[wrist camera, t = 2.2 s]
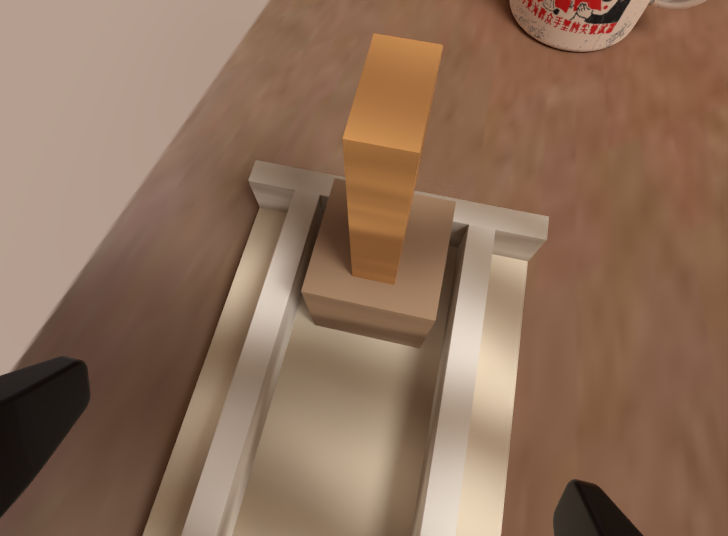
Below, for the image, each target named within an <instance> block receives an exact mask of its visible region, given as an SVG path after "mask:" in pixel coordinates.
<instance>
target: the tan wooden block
mask: <svg viewBox="0 0 728 536" xmlns="http://www.w3.org/2000/svg"><path fill="white" fill-rule="evenodd" d="M442 49H443V45H441V44H435V43H429V42H423V41H417V40H411V39H405V38H399V37H393V36H387V35H381V34H375V33H374V35H373V38H372V42H371V45H370V48H369V52H368V55H367V58H366V62H365V65H364V68H363V72H362V75H361V78H360V82H359V85H358V89H357V92H356V95H355V99H354V102H353V105H352V109H351V112H350V115H349V119H348V122H347V125H346V129H345V132H344V136H343V152H344V166H345V180H342V179H337V178H334V181H333V185H332V188H331V192H330V195H329V198H328V202H327V205H326V209H325V212H324V215H323V219H322V222H321V226H320V229H319V232H318V236H317V239H316V242H315V246H314V249H313V253H312V256H311V259H310V263H309V266H308V270H307V273H306V276H305V280H304V283H303V287H302V290H301V292H302V295H303V297H304V300H305V302H306V304H307V307H308V309H309V312H310V314H311V316H312V319H313V321H314V324H315V325H316V326H321V327H325V328H330V329H334V330H339V331H343V332H348V333H352V334H357V335H361V336H366V337H370V338H375V339H379V340H383V341H388V342H392V343H397V344H401V345H406V346H410V347H415V348H419V349H420V347H421V345H422V343H423V342H424V340H425V338H426V336H427V335H428V333H429V331H430V330H431V328H432V326H433V324H434V323H435V321H436V316H437V310H438V304H439V298H440V293H441V287H442V281H443V275H444V269H445V263H446V258H447V252H448V246H449V240H450V234H451V229H452V223H453V217H454V211H455V205H456V202H455V201H450V200H445V199H440V198H435V197H430V196H424V195H419V194H414V190H415V185H416V180H417V175H418V170H419V165H420V160H421V155H422V150H423V145H424V139H425V134H426V129H427V124H428V119H429V114H430V109H431V104H432V99H433V94H434V89H435V84H436V79H437V74H438V69H439V64H440V59H441V54H442Z"/></svg>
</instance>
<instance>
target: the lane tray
mask: <svg viewBox="0 0 728 536" xmlns="http://www.w3.org/2000/svg"><path fill="white" fill-rule="evenodd" d="M334 178H337V179H342V180H345V177H342V176H336V175H331V174H326V173H321V172H316V171H311V170H306V169H300V168H295V167H290V166H285V165H280V164H275V163H270V162H264V161H259V160H256V161H255V164H254V166H253V169H252V172H251V174H250V177H249V180H248V182H249V184H250V186H251V188H252V191H253V193H254V195H255V197H256V200H257V202H258V204H259V206H260V208H259V210H258V213H257V216H256V219H255V222H254V224H253V227H252V230H251V233H250V236H249V238H248V241H247V244H246V247H245V250H244V252H243V255H242V258H241V261H240V264H239V266H238V269H237V272H236V275H235V278H234V280H233V283H232V286H231V289H230V292H229V294H228V297H227V300H226V303H225V306H224V308H223V311H222V314H221V317H220V320H219V322H218V325H217V328H216V331H215V334H214V336H213V339H212V342H211V345H210V348H209V350H208V353H207V356H206V359H205V362H204V364H203V367H202V370H201V373H200V376H199V378H198V381H197V384H196V387H195V390H194V392H193V395H192V398H191V401H190V404H189V406H188V409H187V412H186V415H185V418H184V420H183V423H182V426H181V429H180V432H179V434H178V437H177V440H176V443H175V446H174V448H173V451H172V454H171V457H170V460H169V463H168V465H167V468H166V471H165V474H164V477H163V479H162V482H161V485H160V488H159V491H158V493H157V496H156V499H155V502H154V505H153V507H152V510H151V513H150V516H149V519H148V521H147V524H146V527H145V530H144V533H143V535H142V536H501V528H502V518H503V508H504V498H505V487H506V477H507V467H508V457H509V447H510V436H511V426H512V416H513V406H514V396H515V386H516V375H517V365H518V355H519V345H520V335H521V325H522V314H523V304H524V294H525V284H526V274H527V264H528V260H529V259H530V258H531V257H532V256H533V255H534V254H535V253H536V252H537V250H538V249H539V248H540V247H541V246H542V245H543V244H544V243H545V242H546V240H547V233H548V221H549V217H548V216H542V215H537V214H532V213H527V212H522V211H517V210H512V209H506V208H501V207H496V206H491V205H486V204H481V203H476V202H470V201H465V200H460V199H455V198H450V197H445V196H439V195H434V194H429V193H424V192H419V191H414V194H419V195H424V196H430V197H435V198H440V199H445V200H450V201H455V202H456V205H455V211H454V217H453V223H452V229H451V234H450V240H449V246H448V252H447V258H446V263H445V269H444V275H443V281H442V287H441V293H440V298H439V304H438V310H437V316H436V321H435V323H434V324H433V326H432V328H431V330H430V331H429V333H428V335H427V336H426V338H425V340H424V342H423V343H422V345H421V347H420V349H419V348H415V347H410V346H406V345H401V344H397V343H392V342H388V341H383V340H379V339H375V338H370V337H366V336H361V335H357V334H352V333H348V332H343V331H339V330H334V329H330V328H325V327H321V326H316V325H315V324H314V321H313V319H312V316H311V314H310V312H309V309H308V307H307V304H306V302H305V300H304V297H303V295H302V292H301V290H302V287H303V283H304V280H305V276H306V273H307V270H308V266H309V263H310V259H311V256H312V253H313V249H314V246H315V242H316V239H317V236H318V232H319V229H320V226H321V222H322V219H323V215H324V212H325V209H326V205H327V202H328V198H329V195H330V192H331V188H332V185H333V181H334Z"/></svg>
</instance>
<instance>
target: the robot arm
mask: <svg viewBox="0 0 728 536" xmlns="http://www.w3.org/2000/svg"><path fill="white" fill-rule="evenodd" d="M89 400H90V386H89V378H88V370H87V365H86V364H85V362H84V361H82V360H79V359H75V358H70V357H65V356H62V357H57V358H54V359H51V360H48V361H45V362H42V363H39V364H35V365H32V366H29V367H26V368H23V369H20V370H17V371H14V372H11V373H7V374H4V375H1V376H0V518H1V517H2V516H3V515H4V513H5V512H6V511H7V510H8V509H9V508H10V507H11V505H12V504H13V503H14V502H15V501H16V500H17V499H18V497H19V496H20V495H21V494H22V493H23V492H24V490H25V489H26V488H27V487H28V486H29V484H30V483H31V482H32V481H33V479H34V478H35V477H36V476H37V474H38V473H39V472H40V470H41V469H42V468H43V466H44V465H45V464H46V462H47V461H48V460H49V458H50V457H51V455H52V454H53V453H54V451H55V450H56V449H57V447H58V446H59V444H60V443H61V442H62V440H63V439H64V438H65V436H66V435H67V433H68V432H69V431H70V429H71V428H72V427H73V425H74V424H75V422H76V421H77V420H78V418H79V417H80V416H81V414H82V413H83V411H84V410H85V409H86V407H87V405H88V403H89ZM553 529H554V536H643V535H642V534H641V532H640V531H639V530H638V529H637V528H636V527H635V526H634V525H633V524H632V522H631V521H630V520H629V519H628V518H627V517H626V516H625V515H624V514H623V512H622V511H621V510H620V509H619V508H618V507H617V506H616V505H615V504H614V502H613V501H612V500H611V499H610V498H609V497H608V496H607V495H606V494H605V492H604V491H603V490H602V489H601V488H600V487H599V486H597V485H596V484H593V483H589V482H585V481H581V480H577V479H573V480H571V481H569V483H568V484H567V486H566V488H565V490H564V492H563V494H562V496H561V498H560V500H559V502H558V505H557V507H556V509H555V511H554V516H553Z"/></svg>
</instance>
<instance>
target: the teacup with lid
mask: <svg viewBox="0 0 728 536" xmlns="http://www.w3.org/2000/svg"><path fill="white" fill-rule="evenodd" d="M509 1H510V8H511V11H512V13H513V16H514V18H515V19H516V21H517V22H518V24H519V25H520V26H521V27H522V29H524V30H525V31H526V32H527V33H528V34H529V35H530V36H532V37H533V38H535V39H536V40H538V41H540V42H542V43H544V44H546V45H549V46H551V47H554V48H558V49H562V50H567V51H574V52H589V51H596V50H601V49H604V48H607V47H610V46H612V45H614V44H616V43H618V42H619V41H621V40H622V39H623V38H625V37H626V36H627V35H628V34H629V33H630V31H631V30H632V29H633V27H634V26H635V24H636V22H637V21H638V19H639V18H640V16H641V15H642V13H643V12H644V10H645V9H646V7H647V6H648V5H651V6H655V7H658V8H662V9H667V10H682V9H687V8H691V7H694V6H697V5H699V4H701V3H703V2H705V1H707V0H509Z"/></svg>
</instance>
